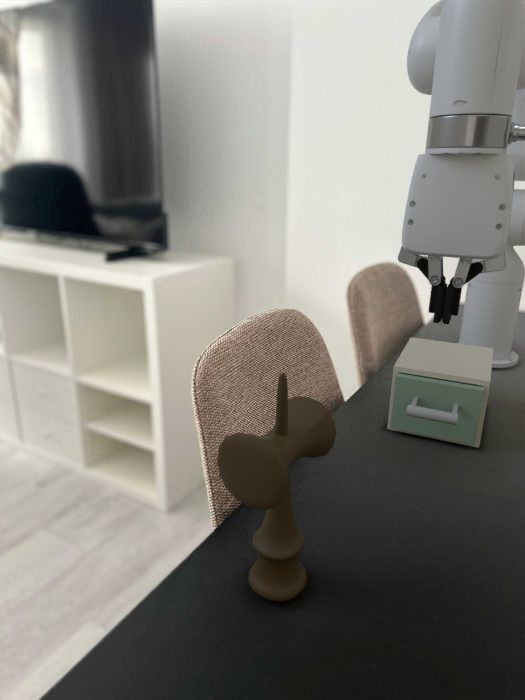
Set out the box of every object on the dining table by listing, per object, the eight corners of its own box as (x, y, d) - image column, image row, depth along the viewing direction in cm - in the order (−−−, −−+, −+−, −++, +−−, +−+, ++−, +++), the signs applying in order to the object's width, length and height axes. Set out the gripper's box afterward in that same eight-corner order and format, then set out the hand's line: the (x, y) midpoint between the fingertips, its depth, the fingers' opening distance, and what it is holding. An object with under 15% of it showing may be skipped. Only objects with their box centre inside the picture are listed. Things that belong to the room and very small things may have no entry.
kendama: (216, 604, 43) (211, 384, 36) (277, 539, 50) (282, 348, 44) (277, 639, 40) (283, 405, 33) (332, 564, 47) (346, 362, 41)
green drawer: (472, 463, 62) (482, 405, 60) (383, 443, 67) (388, 388, 64) (479, 406, 78) (487, 358, 75) (406, 393, 82) (411, 347, 79)
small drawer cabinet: (479, 448, 68) (490, 381, 64) (387, 429, 72) (393, 365, 69) (483, 406, 80) (493, 348, 77) (404, 392, 84) (410, 337, 81)
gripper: (550, 140, 50) (517, 320, 56) (396, 142, 56) (381, 305, 62) (556, 135, 44) (518, 339, 50) (381, 138, 49) (366, 320, 56)
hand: (442, 320), depth 56 cm, fingers closed
